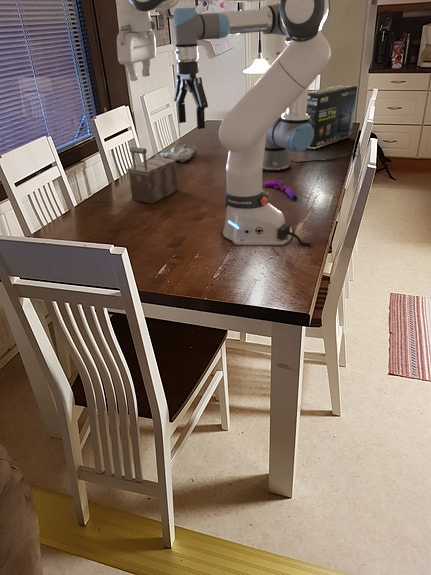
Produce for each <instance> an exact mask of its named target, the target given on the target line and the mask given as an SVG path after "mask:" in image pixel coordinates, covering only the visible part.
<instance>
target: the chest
mask: <svg viewBox="0 0 431 575" xmlns="http://www.w3.org/2000/svg"><path fill="white" fill-rule="evenodd" d="M128 177H129V178H128V179H129V185H130V193H131V199H132V200H133V201H136V202H142V203H146V204H153V203H155V202H158V201H160V200H162V199H163V198H165V197H167V196H170V195H171V194H173V193H175V192H177V191H179V186H178V173H177V162H176V163H175V164H172V165H170V166H168V167H165V168H163V169H161V170H158V171H156V172H154V173H152V174H149V175H141V174H136V173H130V172H128Z"/></svg>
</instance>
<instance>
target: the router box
mask: <svg viewBox="0 0 431 575" xmlns="http://www.w3.org/2000/svg"><path fill="white" fill-rule="evenodd" d="M357 93H358V86H356V85H350V84H339V85H338V84H337V85H334V86H328V87H324V88H318V89H314V90H308V99H307V111H306V113H307V114H308V116H309V117H310V119H309V124H310V125H311V126H312V128H313V130H314V137H313V140H312V143H311V144H310V145H309V146H308V147H317V146H320V145H323V144H325V143H328V142H331V141H333V140H336V139H338V138H341V137H344V136H347V135H351V136H352V133H353V132H352V131H353V125H354V115H355V109H356V99H357ZM311 151H313V150H312V149H311Z"/></svg>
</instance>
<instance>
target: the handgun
mask: <svg viewBox="0 0 431 575" xmlns="http://www.w3.org/2000/svg"><path fill="white" fill-rule="evenodd" d="M262 185H263V187H264V188H274V189H280V190H281V192H285V193H286V194H287V195H288V196H289V197H290V198H291V199H292V201H297V200H298V195H296V194H295V193H294V192H293V191H292V189H291V188H290V187H288V186H287V185H286V184H285V183H284V182H283V181H282V180H275V181H263V182H262Z"/></svg>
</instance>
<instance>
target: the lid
mask: <svg viewBox="0 0 431 575" xmlns="http://www.w3.org/2000/svg"><path fill="white" fill-rule="evenodd" d="M129 152H130V153H131V158H132V159H131V160H132V166H131V167H128V168H126V172H127V173H129V172H130V173H136V174H141V175H149V174H152V173H154V172H156V171H158V170H161V169H163V168H165V167H168V166H170V165H172V164H175V163H176V164H177V161H176V160H172V159H165V158H162V157H158V156H156V157H154V158H151V159H148V160H147V153H148V151H147V149H146V148H144V147H136V146H130V147H129ZM135 154H141V155H142V157H143V162H141V163H138V164H136V157H135Z"/></svg>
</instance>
